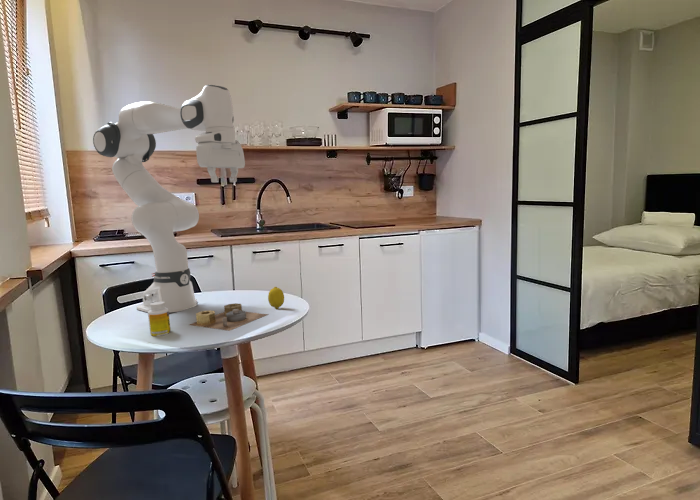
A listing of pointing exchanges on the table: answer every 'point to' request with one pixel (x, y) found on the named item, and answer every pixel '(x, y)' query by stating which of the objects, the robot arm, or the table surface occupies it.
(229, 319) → the plate
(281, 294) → the lemon
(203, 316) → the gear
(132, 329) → the table surface
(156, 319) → the supplement bottle
